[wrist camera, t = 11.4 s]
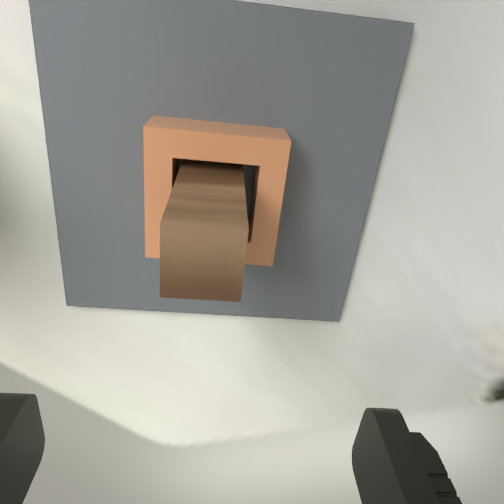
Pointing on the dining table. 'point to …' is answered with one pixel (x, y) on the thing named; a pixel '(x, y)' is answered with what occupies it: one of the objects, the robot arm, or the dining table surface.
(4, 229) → the dining table surface
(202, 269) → the walnut peg
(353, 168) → the socket holder
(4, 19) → the dining table surface
